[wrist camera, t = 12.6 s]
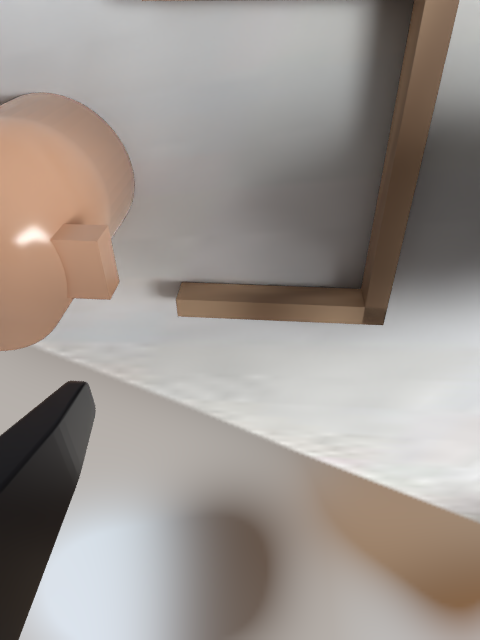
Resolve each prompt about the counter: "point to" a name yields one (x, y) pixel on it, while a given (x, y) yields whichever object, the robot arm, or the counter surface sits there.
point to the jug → (56, 212)
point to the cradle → (391, 209)
